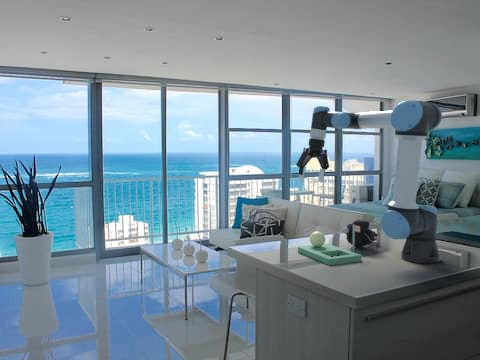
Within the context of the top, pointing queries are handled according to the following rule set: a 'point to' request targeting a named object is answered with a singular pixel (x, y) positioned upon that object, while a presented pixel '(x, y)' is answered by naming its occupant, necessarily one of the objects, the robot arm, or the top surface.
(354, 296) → the top surface
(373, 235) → the figurine
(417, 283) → the top surface
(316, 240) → the ball
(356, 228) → the flagpost
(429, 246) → the robot arm
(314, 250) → the green
